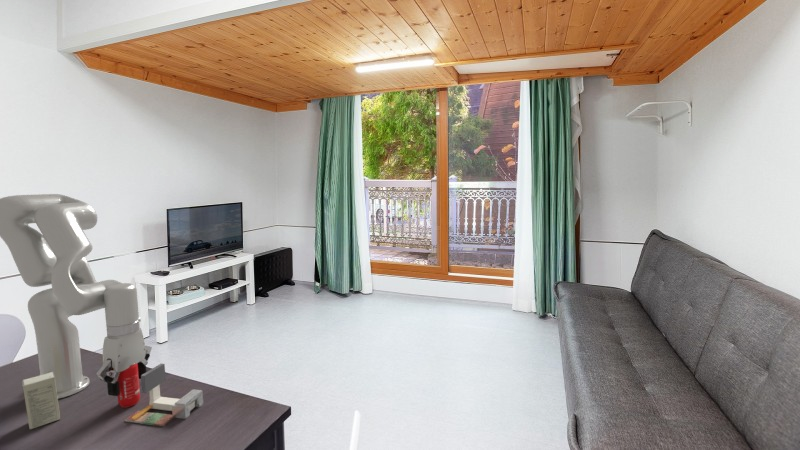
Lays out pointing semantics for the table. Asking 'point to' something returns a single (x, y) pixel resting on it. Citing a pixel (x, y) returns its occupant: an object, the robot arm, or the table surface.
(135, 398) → the beverage can
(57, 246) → the robot arm
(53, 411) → the skincare box
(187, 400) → the bench
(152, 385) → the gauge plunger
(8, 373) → the table surface
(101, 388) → the table surface
